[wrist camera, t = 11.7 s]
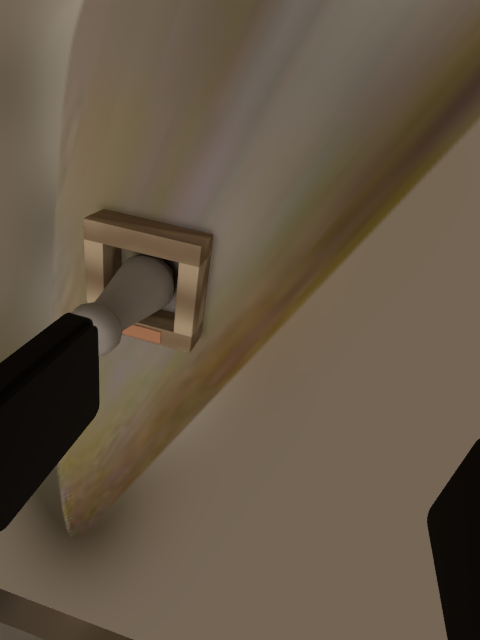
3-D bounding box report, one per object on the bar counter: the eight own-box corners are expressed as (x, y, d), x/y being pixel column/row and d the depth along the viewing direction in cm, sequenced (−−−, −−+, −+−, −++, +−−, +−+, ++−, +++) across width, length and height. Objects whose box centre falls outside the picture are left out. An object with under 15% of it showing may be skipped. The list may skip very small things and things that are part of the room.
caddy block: (103, 209, 40) (81, 218, 36) (213, 234, 38) (200, 247, 35) (105, 310, 46) (87, 326, 42) (200, 336, 44) (189, 354, 41)
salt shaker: (184, 255, 40) (120, 315, 29) (180, 305, 43) (120, 377, 32) (130, 242, 41) (47, 296, 30) (129, 292, 44) (54, 358, 33)
